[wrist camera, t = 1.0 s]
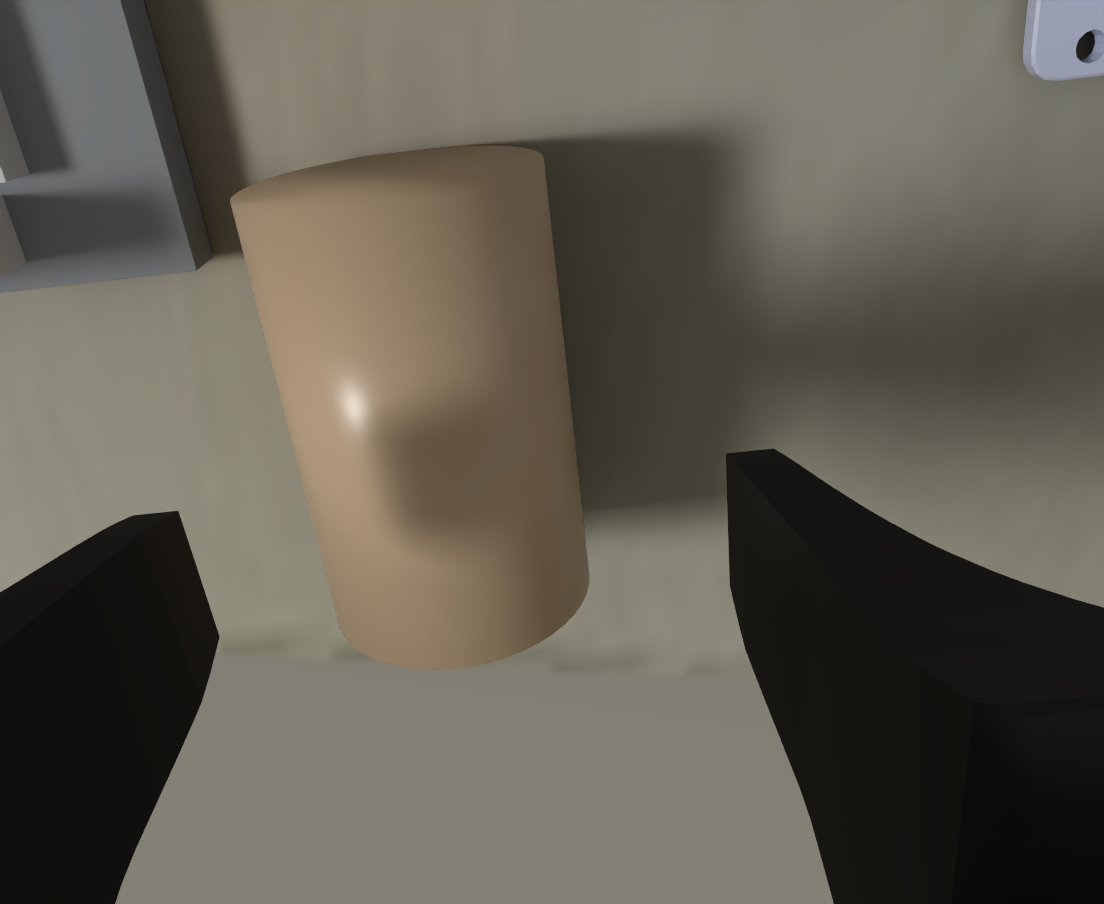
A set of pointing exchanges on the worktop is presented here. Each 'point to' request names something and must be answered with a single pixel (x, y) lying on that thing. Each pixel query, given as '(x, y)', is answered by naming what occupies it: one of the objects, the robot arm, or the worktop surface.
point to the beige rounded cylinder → (425, 395)
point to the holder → (90, 149)
